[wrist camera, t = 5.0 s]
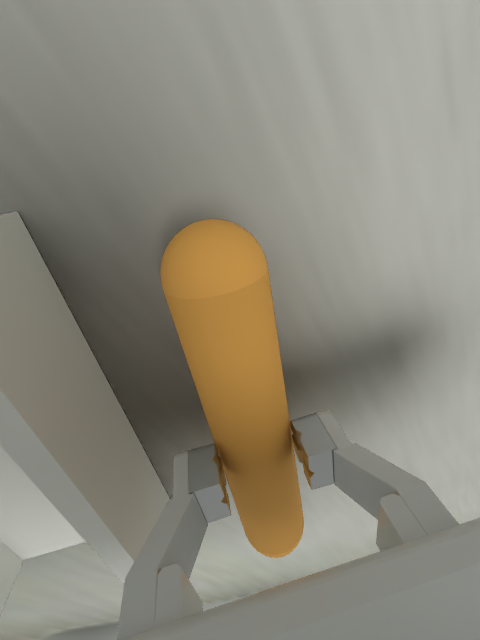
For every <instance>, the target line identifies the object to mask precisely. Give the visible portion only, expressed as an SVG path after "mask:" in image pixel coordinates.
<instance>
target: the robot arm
mask: <svg viewBox="0 0 480 640" xmlns="http://www.w3.org/2000/svg"><path fill="white" fill-rule="evenodd" d="M290 427H291V430H292V432H293V435H292V440H293V444H294V448H295V451H296V454H297V456H298V459H299V461H300V462H301V463H303V467H304V473H305V476H306V478H307V480H308V482H309V485H310V487H311V489H312V490H313V489H317V488H320V487H324V486H327V485H331V484H334V483H335V485H336V486H337V487H338V488H339V489H341V490H342V491H343V492H344V493H346V494H347V495H348V496H349V497H350V498H352V499H353V500H354V501H355V502H357V503H358V504H359V505H360V506H362V507H363V508H364V509H365V510H366V511H368V512H369V513H370V514H371V515H373V516H374V517H375V518H376V519H378V528H377V538H376V544H377V546H378V548H379V549H380V552H377V553H374V554H371V555H368V556H365V557H362V558H359V559H356V560H353V561H350V562H347V563H344V564H341V565H338V566H336V567H333V568H330V569H327V570H324V571H321V572H318V573H315V574H312V575H309V576H306V577H303V578H300V579H297V580H294V581H291V582H288V583H285V584H282V585H279V586H277V587H274V588H271V589H268V590H265V591H262V592H259V593H256V594H253V595H250V596H247V597H244V598H241V599H238V600H235V601H232V602H229V603H227V604H224V605H220V606H218V607H215V608H212V609H209V610H206V611H203V606H202V601H201V599H200V597H199V596H198V594H197V592H196V591H195V589H194V587H193V586H192V584H191V582H190V581H189V577H190V575H191V572H192V569H193V566H194V563H195V560H196V557H197V555H198V552H199V549H200V546H201V543H202V540H203V537H204V535H205V532H206V529H207V526H208V524H207V523H210V522H213V521H216V520H219V519H222V518H224V517H227V516H230V515H231V511H230V504H229V498H228V494H227V491H226V488H225V486H226V479H225V473H224V469H223V465H222V461H221V458H220V457H219V455H218V449H217V446H216V444H215V443H214V444H210V445H206V446H202V447H199V448H195V449H191V450H188V451H184V452H180V453H177V454H174V458H173V499H171V500H169V501H168V502H167V504H166V506H165V508H164V509H163V511H162V513H161V515H160V517H159V518H158V520H157V522H156V524H155V526H154V527H153V529H152V531H151V533H150V534H149V536H148V538H147V540H146V542H145V543H144V545H143V547H142V549H141V551H140V552H139V554H138V556H137V558H136V560H135V561H134V563H133V565H132V567H131V569H130V570H129V572H128V574H127V576H126V578H125V583H124V590H123V598H122V605H121V613H120V620H119V628H118V635H117V640H480V518H477V519H474V520H471V521H468V522H465V523H462V524H458V522H457V521H456V520H455V519H454V517H453V516H452V515H451V514H450V512H449V511H448V510H447V509H446V507H445V506H444V505H443V504H442V502H441V501H440V500H439V499H438V497H437V496H436V495H435V494H434V492H433V491H432V490H431V489H430V487H429V486H428V485H427V484H426V482H424V481H422V480H421V479H419V478H417V477H415V476H413V475H412V474H410V473H408V472H406V471H404V470H403V469H401V468H399V467H397V466H395V465H394V464H392V463H390V462H388V461H386V460H385V459H383V458H381V457H379V456H378V455H376V454H374V453H372V452H370V451H369V450H367V449H365V448H363V447H361V446H360V445H358V444H351V442H350V441H349V439H348V437H347V436H346V434H345V433H344V431H343V430H342V428H341V427H340V425H339V424H338V422H337V421H336V419H335V417H334V416H333V414H332V413H331V411H329V410H325V411H321V412H318V413H314V414H310V415H307V416H304V417H301V418H297V419H294V420H291V421H290Z"/></svg>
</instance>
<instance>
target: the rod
mask: <svg viewBox="0 0 480 640" xmlns="http://www.w3.org/2000/svg"><path fill="white" fill-rule="evenodd" d="M161 283H162V287H163V291H164V294H165V297H166V300H167V303H168V306H169V309H170V312H171V315H172V318H173V321H174V324H175V327H176V330H177V333H178V336H179V339H180V342H181V345H182V348H183V351H184V353H185V356H186V359H187V362H188V365H189V368H190V371H191V374H192V377H193V380H194V383H195V386H196V389H197V392H198V395H199V398H200V401H201V404H202V407H203V410H204V413H205V416H206V418H207V421H208V424H209V427H210V430H211V433H212V436H213V439H214V442H215V444H216V446H217V449H218V454H219V457H220V458H221V461H222V465H223V469H224V472H225V475H226V478H227V481H228V484H229V486H230V489H231V492H232V495H233V498H234V501H235V504H236V507H237V510H238V513H239V516H240V519H241V522H242V525H243V528H244V531H245V534H246V536H247V538H248V540H249V542H250V543H251V545H252V546H253V547H254V548H255V549H256V550H257V551H258V552H260V553H262V554H263V555H265V556H268V557H274V558H278V557H283V556H285V555H287V554H289V553H290V552H292V551H293V550H294V549H295V547H296V546H297V545H298V543H299V541H300V539H301V537H302V533H303V526H304V519H303V511H302V504H301V497H300V490H299V483H298V476H297V469H296V462H295V455H294V448H293V441H292V434H291V427H290V420H289V413H288V406H287V399H286V392H285V385H284V377H283V370H282V363H281V356H280V349H279V342H278V335H277V328H276V321H275V314H274V307H273V300H272V293H271V286H270V279H269V272H268V265H267V261H266V257H265V255H264V252H263V250H262V248H261V246H260V245H259V243H258V242H257V241H256V239H255V238H254V237H253V235H251V234H250V233H249V232H248V231H247V230H246V229H244V228H242V227H240V226H239V225H237V224H235V223H232V222H229V221H226V220H220V219H206V220H201V221H197V222H194V223H192V224H190V225H189V226H187V227H185V228H183V229H182V230H181V231H180V232H179V233H177V234H176V235H175V236H174V237H173V239H172V240H171V241H170V243H169V244H168V246H167V248H166V250H165V252H164V255H163V257H162V262H161Z"/></svg>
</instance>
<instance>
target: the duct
mask: <svg viewBox="0 0 480 640" xmlns="http://www.w3.org/2000/svg"><path fill="white" fill-rule="evenodd" d="M169 500H170V498H169V496H168V494H167V492H166V490H165V488H164V487H163V485H162V483H161V481H160V479H159V477H158V475H157V473H156V471H155V470H154V468H153V466H152V464H151V462H150V460H149V458H148V456H147V455H146V453H145V451H144V449H143V447H142V445H141V443H140V441H139V439H138V438H137V436H136V434H135V432H134V430H133V428H132V426H131V424H130V422H129V421H128V419H127V417H126V415H125V413H124V411H123V409H122V407H121V406H120V404H119V402H118V400H117V398H116V396H115V394H114V392H113V390H112V389H111V387H110V385H109V383H108V381H107V379H106V377H105V375H104V373H103V372H102V370H101V368H100V366H99V364H98V362H97V360H96V358H95V357H94V355H93V353H92V351H91V349H90V347H89V345H88V343H87V341H86V340H85V338H84V336H83V334H82V332H81V330H80V328H79V326H78V325H77V323H76V321H75V319H74V317H73V315H72V313H71V311H70V309H69V308H68V306H67V304H66V302H65V300H64V298H63V296H62V294H61V292H60V291H59V289H58V287H57V285H56V283H55V281H54V279H53V277H52V276H51V274H50V272H49V270H48V268H47V266H46V264H45V262H44V260H43V259H42V257H41V255H40V253H39V251H38V249H37V247H36V245H35V243H34V242H33V240H32V238H31V236H30V234H29V232H28V230H27V228H26V227H25V225H24V223H23V221H22V219H21V217H20V215H19V213H18V211H15V212H11V213H6V214H2V215H0V616H1V613H2V611H3V608H4V606H5V604H6V601H7V599H8V596H9V594H10V591H11V589H12V587H13V584H14V582H15V579H16V577H17V574H18V572H19V570H20V567H21V565H22V562H23V560H25V559H29V558H32V557H36V556H39V555H42V554H46V553H49V552H53V551H56V550H60V549H63V548H66V547H70V546H73V545H77V544H80V543H83V542H86V543H87V544H88V545H89V546H90V547H91V548H92V549H93V550H94V552H95V553H96V554H97V555H98V556H99V557H100V558H101V559H102V561H103V562H104V563H105V564H106V565H107V566H108V567H109V568H110V570H111V571H112V572H113V573H114V574H115V575H116V576H117V577H118V579H119V580H120V581H121V582H122V583H123V584H124V583H125V578H126V576H127V574H128V572H129V570H130V569H131V567H132V565H133V563H134V561H135V560H136V558H137V556H138V554H139V552H140V551H141V549H142V547H143V545H144V543H145V542H146V540H147V538H148V536H149V534H150V533H151V531H152V529H153V527H154V526H155V524H156V522H157V520H158V518H159V517H160V515H161V513H162V511H163V509H164V508H165V506H166V504H167V502H168V501H169Z"/></svg>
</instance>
